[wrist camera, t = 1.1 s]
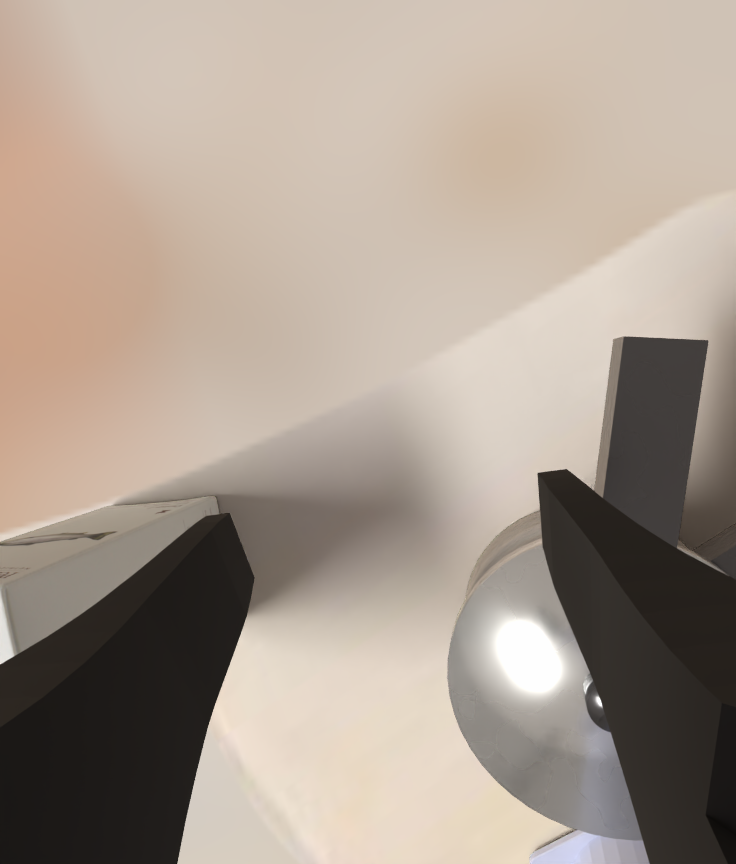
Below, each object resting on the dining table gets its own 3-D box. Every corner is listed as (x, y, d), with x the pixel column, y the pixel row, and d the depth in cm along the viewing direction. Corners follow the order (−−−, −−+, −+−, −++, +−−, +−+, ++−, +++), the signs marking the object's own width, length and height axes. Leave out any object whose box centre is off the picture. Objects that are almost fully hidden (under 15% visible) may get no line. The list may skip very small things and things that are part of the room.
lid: (756, 859, 19) (782, 909, 17) (438, 778, 22) (432, 813, 20) (852, 350, 16) (894, 348, 15) (479, 332, 19) (476, 328, 17)
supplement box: (219, 491, 28) (4, 583, 16) (240, 621, 29) (48, 805, 17) (107, 501, 30) (-161, 589, 18) (128, 623, 31) (-116, 789, 19)
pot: (946, 559, 20) (1067, 611, 16) (566, 770, 25) (579, 853, 21) (752, 348, 21) (817, 342, 17) (419, 591, 26) (402, 635, 22)
